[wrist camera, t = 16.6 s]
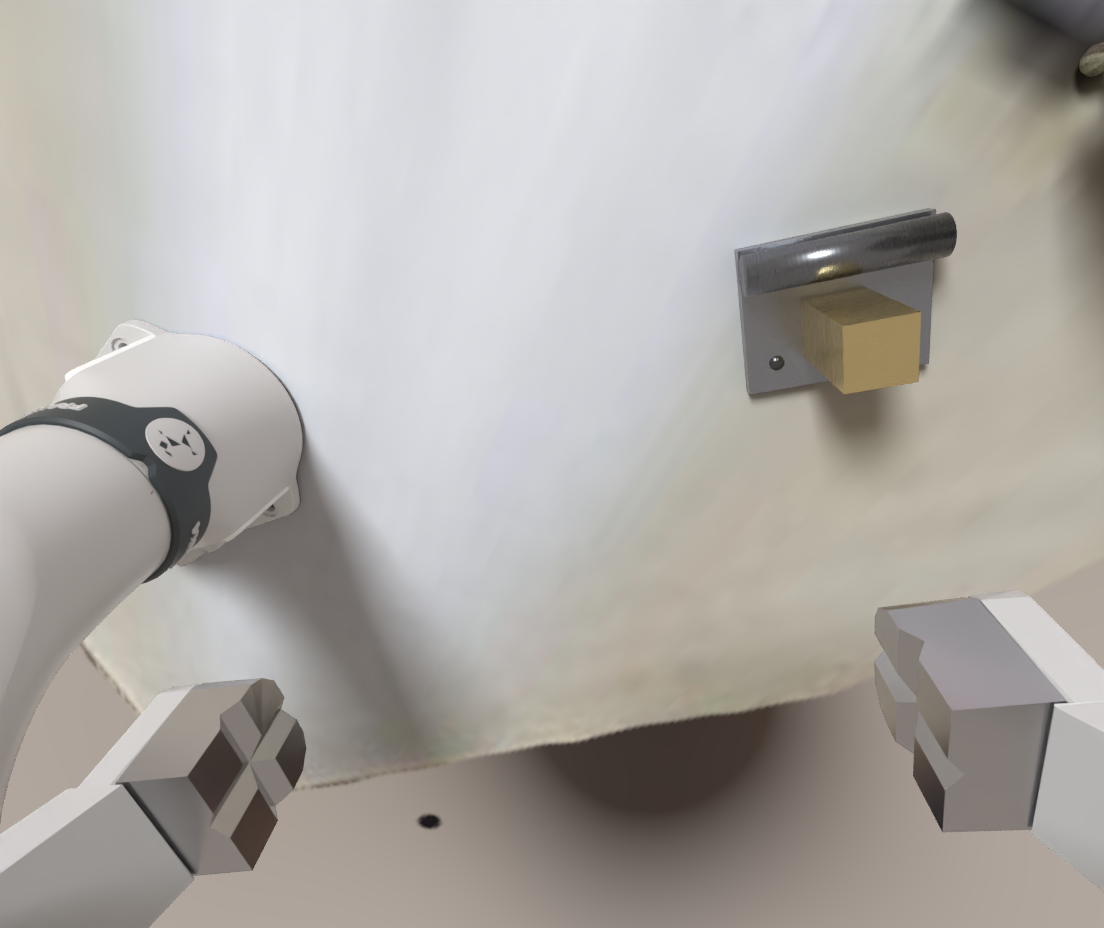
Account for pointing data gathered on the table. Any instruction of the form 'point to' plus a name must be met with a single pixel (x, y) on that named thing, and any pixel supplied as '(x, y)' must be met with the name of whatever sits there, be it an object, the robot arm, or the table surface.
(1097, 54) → the tabletop clock
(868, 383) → the tan wooden block
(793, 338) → the fixed leaf
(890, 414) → the table surface
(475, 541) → the table surface
